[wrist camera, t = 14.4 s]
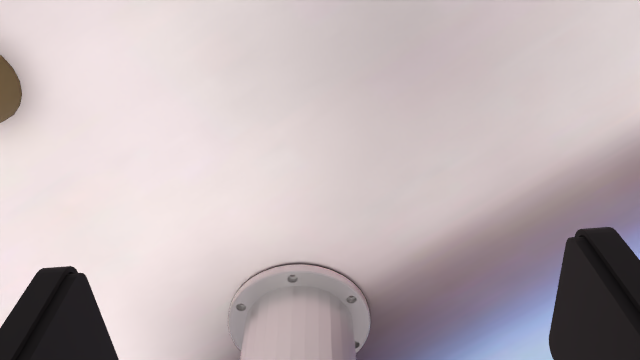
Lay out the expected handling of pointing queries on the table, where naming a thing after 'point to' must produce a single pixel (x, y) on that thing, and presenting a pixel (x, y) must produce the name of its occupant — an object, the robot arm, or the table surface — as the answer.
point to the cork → (8, 90)
